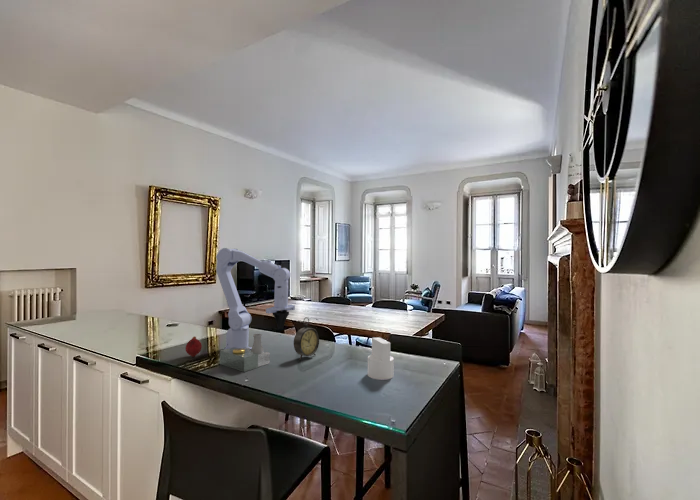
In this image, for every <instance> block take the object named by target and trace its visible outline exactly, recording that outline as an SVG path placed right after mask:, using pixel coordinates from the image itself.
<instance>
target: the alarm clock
mask: <svg viewBox="0 0 700 500" xmlns="http://www.w3.org/2000/svg"><path fill="white" fill-rule="evenodd" d="M306 319H307V320H308V321H307V323H305V321H306ZM302 323H303V325H304V327H302V328H300V329H298V331H297V332H296V333H295V336H294V338H293V349H294V351H295V352H296V354H298V355H299V356H300V357H299V359H298V360H299V361H301V359H303V357H311V356H313V355H314V356H316V352H317V350H318V348H319V345H320V336H319V334H318V331H317V330H316V329H315V328H312V327H308V325H309V323H310V318H309V317H307V316H306V317H305V318H303V321H302Z"/></svg>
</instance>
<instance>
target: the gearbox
mask: <svg viewBox="0 0 700 500" xmlns="http://www.w3.org/2000/svg"><path fill="white" fill-rule="evenodd" d="M219 353H220V354H219V364H220V365H221V366H225V367H227V368H230V369H234V370H237V371H240V372H243V373H245V372H248V371H251V370H255V369H258V368H260V367H263V366H265V365H268V364H269V365H270V360H271V359H270V355H271V353H270V352H269V351H268V352H267V351H266V352H265V351H264V353H262V354H257V353H254V352H251V349H250V346H248V347H245V348H235V347H233V348H229V349H220V352H219Z"/></svg>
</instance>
